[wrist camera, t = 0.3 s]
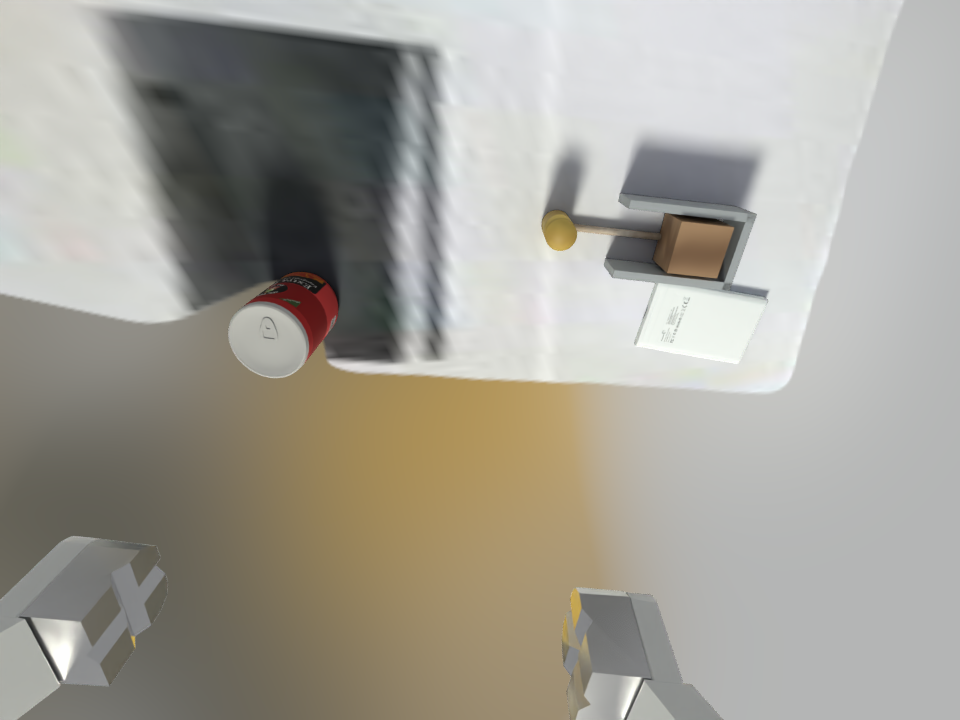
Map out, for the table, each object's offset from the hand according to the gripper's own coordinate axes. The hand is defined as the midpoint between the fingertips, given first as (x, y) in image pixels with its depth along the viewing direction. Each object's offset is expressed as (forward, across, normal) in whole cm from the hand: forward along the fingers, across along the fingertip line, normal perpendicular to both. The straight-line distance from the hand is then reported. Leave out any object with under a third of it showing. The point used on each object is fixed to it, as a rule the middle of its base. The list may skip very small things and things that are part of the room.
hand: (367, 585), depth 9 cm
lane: (+46, -21, +1) cm, 50 cm away
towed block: (+45, -16, +1) cm, 48 cm away
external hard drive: (+46, -27, +10) cm, 54 cm away
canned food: (+46, +18, +13) cm, 51 cm away
